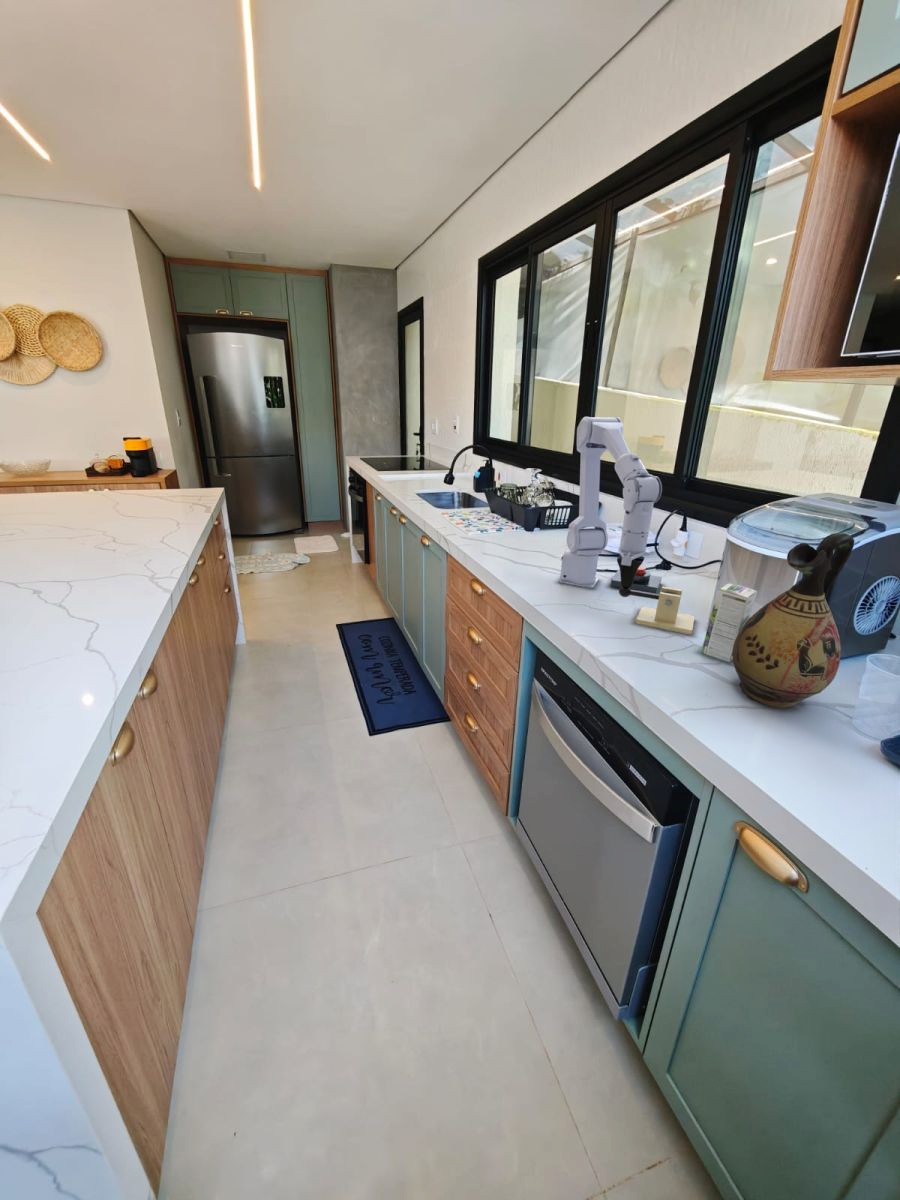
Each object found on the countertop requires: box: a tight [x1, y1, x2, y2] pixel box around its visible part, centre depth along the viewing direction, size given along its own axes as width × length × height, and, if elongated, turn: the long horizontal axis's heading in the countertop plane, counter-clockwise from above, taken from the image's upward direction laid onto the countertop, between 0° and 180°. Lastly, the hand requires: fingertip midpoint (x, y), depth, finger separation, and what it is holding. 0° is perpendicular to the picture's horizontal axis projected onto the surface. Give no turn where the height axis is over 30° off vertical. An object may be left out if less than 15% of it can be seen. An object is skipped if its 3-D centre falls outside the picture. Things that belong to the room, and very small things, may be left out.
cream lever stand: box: [635, 586, 696, 636], centre depth 117 cm, size 12×9×8 cm
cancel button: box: [636, 565, 647, 575], centre depth 139 cm, size 4×4×2 cm
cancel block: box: [610, 569, 663, 594], centre depth 140 cm, size 12×10×4 cm
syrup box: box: [700, 583, 758, 663], centre depth 102 cm, size 6×6×14 cm
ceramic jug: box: [732, 532, 855, 709], centre depth 85 cm, size 17×15×30 cm
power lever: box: [618, 586, 677, 601], centre depth 119 cm, size 13×3×3 cm, turn 62°
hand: (626, 586), depth 120 cm, fingers closed, pressing on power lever
